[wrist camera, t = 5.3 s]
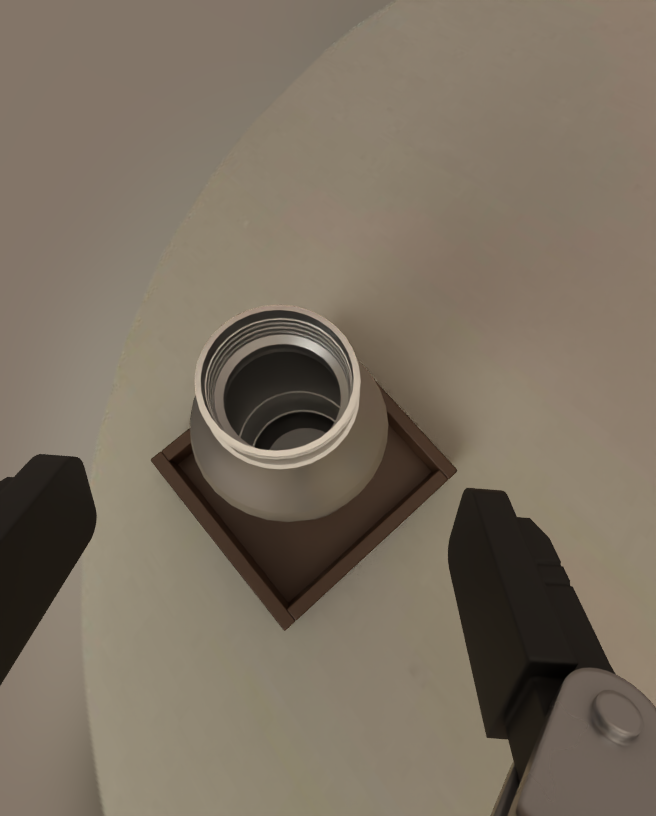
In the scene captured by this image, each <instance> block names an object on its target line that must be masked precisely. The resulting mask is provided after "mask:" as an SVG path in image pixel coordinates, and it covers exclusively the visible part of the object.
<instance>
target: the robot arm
mask: <svg viewBox="0 0 656 816" xmlns="http://www.w3.org/2000/svg"><path fill="white" fill-rule="evenodd" d="M96 518H97V515H96V508H95V504H94V501H93V497H92V493H91V490H90V486H89V483H88V479H87V475H86V472H85V468H84V465H83V462H82V461H81V460H80V458H78V457H71V456H58V455H45V454H39V455H36V456H34V457H33V458H32V459H31V460H30V461H29V462H28V463H27V464H26V465H25V466H24V467H23V468H22V469H21V470H20V471H19V472H18V473H17V475H15V477H7V478H5V479H3V480H2V481H0V685H1V684H2V682H3V680H4V679H5V677H6V676H7V674H8V672H9V671H10V669H11V667H12V666H13V664H14V663H15V661H16V659H17V658H18V656H19V655H20V653H21V651H22V650H23V648H24V646H25V645H26V643H27V641H28V640H29V638H30V637H31V635H32V633H33V632H34V630H35V629H36V627H37V626H38V624H39V622H40V621H41V619H42V617H43V616H44V614H45V613H46V611H47V609H48V608H49V606H50V605H51V603H52V601H53V600H54V598H55V597H56V595H57V593H58V592H59V590H60V588H61V587H62V585H63V583H64V582H65V580H66V579H67V577H68V575H69V574H70V572H71V570H72V569H73V568H74V566H75V564H76V563H77V561H78V559H79V558H80V556H81V555H82V553H83V551H84V550H85V548H86V547H87V545H88V543H89V542H90V540H91V538H92V536H93V533H94V530H95V526H96ZM448 563H449V570H450V574H451V579H452V583H453V588H454V592H455V597H456V601H457V606H458V610H459V615H460V619H461V624H462V628H463V633H464V637H465V642H466V646H467V651H468V655H469V660H470V664H471V669H472V673H473V678H474V682H475V687H476V691H477V696H478V700H479V705H480V709H481V714H482V718H483V723H484V727H485V732H486V736H487V738H497V739H508V740H509V744H510V748H511V752H512V756H513V760H514V762H513V763H512V765H511V767H510V770H509V772H508V774H507V777H506V779H505V782H504V784H503V787H502V789H501V792H500V794H499V796H498V799H497V801H496V804H495V806H494V809H493V811H492V813H491V816H656V708H655V706H654V705H653V704H652V703H651V701H650V700H649V699H648V698H647V697H646V696H645V695H644V694H643V693H642V692H641V691H640V690H638V689H637V688H636V687H635V686H634V685H632V684H631V683H629V682H628V681H626V680H625V679H623V678H621V677H619V676H618V675H616V674H615V672H614V671H613V669H612V667H611V665H610V664H609V661H608V659H607V657H606V655H605V653H604V651H603V649H602V647H601V645H600V643H599V641H598V639H597V636H596V634H595V632H594V630H593V628H592V626H591V624H590V622H589V620H588V618H587V616H586V613H585V611H584V609H583V607H582V605H581V603H580V601H579V599H578V597H577V595H576V593H575V591H574V588H573V587H571V586H570V580H569V578H568V576H567V574H566V572H565V570H564V568H563V567H561V564H560V563H561V561H560V559H559V557H558V555H557V553H556V551H555V549H554V547H553V545H552V543H551V540H550V539H549V538H548V536H547V535H546V534H545V533H544V532H543V531H542V530H541V529H540V528H539V527H538V526H537V525H536V524H535V523H534V522H533V521H532V520H531V519H530V518H521V517H516V514H515V512H514V510H513V507H512V505H511V502H510V500H509V498H508V496H507V494H506V493H505V492H504V491H501V490H488V489H475V488H466V489H465V490H464V492H463V495H462V498H461V501H460V505H459V508H458V511H457V515H456V518H455V522H454V525H453V529H452V532H451V535H450V539H449V546H448Z"/></svg>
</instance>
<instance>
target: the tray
mask: <svg viewBox="0 0 656 816" xmlns="http://www.w3.org/2000/svg"><path fill="white" fill-rule="evenodd" d="M375 382H376V381H375ZM376 384H377V385H378V387H379V389H380V391H381V394H382V397H383V400H384V402H385V405H386V411H387V418H388V436H387V444H386V448H385V451H384V455H383V458H382V461H381V463H380V465H379V467H378V469H377V471H376V472H375V474H374V476H373V478H372V479H371V480H370V481H369V483H368V484H367V485H366V486H365V488H364V489H363V490H362V491H361V492H360V493H359V494H358V495H357V496H355V497H354V498H353V499H352V500H350V501H349V502H348V503H347V504H346V505H344V506H342V507H341V508H339V509H338V510H337V511H335V512H333V513H331V514H330V515H328V516H325V517H322V518H319V519H314V520H302V521H292V522H284V521H274V520H266V519H263V518H260V517H256V516H253V515H250V514H247V513H245V512H243V511H242V510H240V509H238V508H236V507H234V506H232V505H230V504H229V503H228V502H227V501H226V500H224V499H223V498H222V497H221V496H220V495H218V494H217V493H216V492H215V491H214V489H213V488H212V487H211V486H210V484H209V483H208V482H207V481H206V479H205V478H204V477H203V474H202V472H201V470H200V468H199V466H198V464H197V462H196V460H195V456H194V453H193V449H192V445H191V431H190V429H188V430H187V431H186V432H185V433H183V434H182V435H181V436H180V437H178V438H177V439H176V440H175V441H173V442H172V443H171V444H170V445H168V446H167V447H166V448H165V449H163V450H162V452H159V453H158V454H157V455H156V456H154V457H153V458H152V459H151V461H152V463H153V464H154V465H155V467H156V468H157V469H158V470H159V472H160V473H161V474H162V476H163V477H164V478H165V479H166V481H167V482H168V483H169V484H170V486H171V487H172V488H173V490H174V491H175V492H176V493H177V495H178V496H179V497H180V498H181V500H182V501H183V502H184V504H185V505H186V506H187V507H188V509H189V510H190V511H191V512H192V514H193V515H194V516H195V518H196V519H197V520H198V521H199V523H200V524H201V525H202V526H203V528H204V529H205V530H206V532H207V533H208V534H209V535H210V537H211V538H212V539H213V541H214V542H215V543H216V544H217V546H218V547H219V548H220V549H221V551H222V552H223V553H224V555H225V556H226V557H227V558H228V560H229V561H230V562H231V563H232V565H233V566H234V567H235V569H236V570H237V571H238V572H239V574H240V575H241V576H242V577H243V579H244V580H245V581H246V583H247V584H248V585H249V586H250V588H251V589H252V590H253V591H254V593H255V594H256V595H257V597H258V598H259V599H260V600H261V602H262V603H263V604H264V606H265V607H266V608H267V609H268V611H269V612H270V613H271V614H272V616H273V617H274V618H275V620H276V621H277V622H278V623H279V625H280V626H281V627H282V628H283V630H284V631H285V630H286V629H288V628H289V627H290V626H291V625H292V624H293V623H294V622H295V620H297V619H298V618H299V617H300V616H302V615H303V614H304V613H305V612H306V611H307V610H308V609H309V608H310V607H311V606H312V605H313V604H314V603H316V602H317V601H318V600H319V599H320V598H321V597H322V596H323V595H324V594H325V593H326V592H327V591H329V590H330V589H331V588H332V587H333V586H334V585H335V584H336V583H337V582H338V581H339V580H340V579H341V578H343V577H344V576H345V575H346V574H347V573H348V572H349V571H350V570H351V569H352V568H353V567H354V566H356V565H357V564H358V563H359V562H360V561H361V560H362V559H363V558H364V557H365V556H366V555H367V554H368V553H370V552H371V551H372V550H373V549H374V548H375V547H376V546H377V545H378V544H379V543H380V542H381V541H383V540H384V539H385V538H386V537H387V536H388V535H389V534H390V533H391V532H392V531H393V530H394V529H396V528H397V527H398V526H399V525H400V524H401V523H402V522H403V521H404V520H405V519H406V518H407V517H408V516H410V515H411V514H412V513H413V512H414V511H415V510H416V509H417V508H418V507H419V506H420V505H421V504H423V503H424V502H425V501H426V500H427V499H428V498H429V497H430V496H431V495H432V494H433V493H434V492H435V491H437V490H438V489H439V488H440V487H441V486H442V485H443V484H444V483H445V482H446V481H447V480H448V479H449V478H451V477H452V476H453V475H454V474H455V473H456V472H457V469H456V468H455V467H454V466H453V465H452V464H451V463H450V462H449V460H448V459H447V458H446V457H445V456H444V455H443V454H442V453H441V452H440V451H439V450H438V449H437V447H436V446H435V445H434V444H433V443H432V442H431V441H430V440H429V439H428V438H427V437H426V435H425V434H424V433H423V432H422V431H421V430H420V429H419V428H418V427H417V426H416V425H415V424H414V422H413V421H412V420H411V419H410V418H409V417H408V416H407V415H406V414H405V413H404V412H403V411H402V409H401V408H400V407H399V406H398V405H397V404H396V403H395V402H394V401H393V400H392V399H391V397H390V396H389V395H388V394H387V393H386V392H385V391H384V390H383V389H382V388H381V387H380V386H379V384H378V383H377V382H376Z"/></svg>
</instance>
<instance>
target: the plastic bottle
mask: <svg viewBox="0 0 656 816" xmlns="http://www.w3.org/2000/svg"><path fill="white" fill-rule="evenodd" d="M195 394H196V396H195V398H194V401H193V406H192V412H191V418H190V431H191V445H192V449H193V453H194V456H195V460H196V462H197V464H198V466H199V468H200V470H201V472H202V474H203V477H204V478H205V479H206V481H207V482H208V483H209V484H210V486H211V487H212V488H213V489H214V491H215V492H216V493H217V494H218V495H220V496H221V497H222V498H223V499H224V500H226V501H227V502H228V503H229V504H230V505H232V506H234V507H236V508H238V509H240V510H242V511H243V512H245V513H247V514H250V515H253V516H256V517H260V518H263V519H266V520H274V521H284V522H292V521H302V520H314V519H319V518H322V517H325V516H328V515H330V514H331V513H333V512H335V511H337V510H338V509H339V508H341V507H342V506H344V505H346V504H347V503H348V502H349V501H350V500H352V499H353V498H354V497H355V496H357V495H358V494H359V493H360V492H361V491H362V490H363V489H364V488H365V486H366V485H367V484H368V483H369V481H370V480H371V479H372V478H373V476H374V474H375V472H376V471H377V469H378V467H379V465H380V463H381V461H382V458H383V455H384V451H385V448H386V444H387V436H388V418H387V411H386V405H385V402H384V400H383V397H382V394H381V391H380V389H379V387H378V385H377V384H376V382H375V380H374V379H373V377H372V376H371V374H370V373H369V372H368V371H367V369H366V368H365V367H364V366H363V365H362V364H361V363H360V362H359V361H358V360H357V358H356V356H355V353H354V350H353V348H352V347H351V345H350V343H349V342H348V340H347V338H346V337H345V336H344V334H343V333H342V332H341V331H340V330H339V329H338V328H337V327H336V326H335V325H334V324H332V323H331V322H330V321H328V320H327V319H326V318H324V317H323V316H321V315H318V314H316V313H314V312H312V311H310V310H307V309H303V308H300V307H296V306H288V305H269V306H262V307H258V308H254V309H250V310H247V311H245V312H243V313H241V314H239V315H236V316H234V317H233V318H231V319H230V320H229V321H227V322H226V323H224V324H223V325H221V326H220V328H219V329H218V330H217V331H216V332H215V333H214V334H213V335H212V336H211V337H210V339H209V340H208V342H207V343H206V345H205V346H204V348H203V349H202V352H201V354H200V357H199V359H198V362H197V366H196V372H195Z"/></svg>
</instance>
